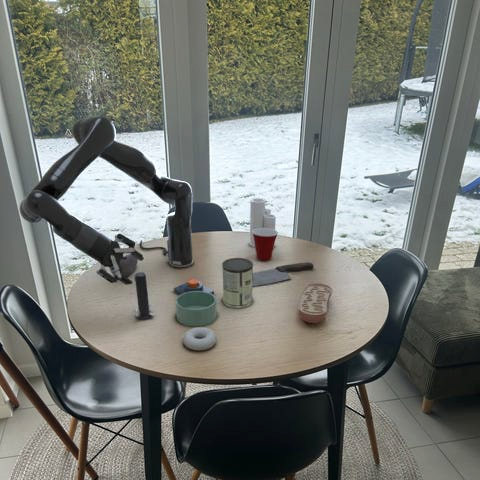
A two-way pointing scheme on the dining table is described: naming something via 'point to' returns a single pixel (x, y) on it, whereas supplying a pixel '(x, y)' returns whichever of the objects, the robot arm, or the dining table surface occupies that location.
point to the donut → (199, 344)
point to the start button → (193, 283)
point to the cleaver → (278, 273)
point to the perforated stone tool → (127, 265)
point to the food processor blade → (142, 297)
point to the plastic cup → (264, 242)
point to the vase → (260, 217)
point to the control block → (186, 288)
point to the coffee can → (237, 282)
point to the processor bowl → (196, 308)
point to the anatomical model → (314, 302)
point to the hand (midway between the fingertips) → (136, 271)
